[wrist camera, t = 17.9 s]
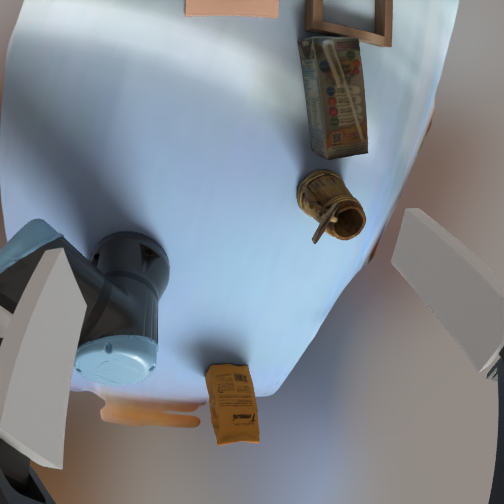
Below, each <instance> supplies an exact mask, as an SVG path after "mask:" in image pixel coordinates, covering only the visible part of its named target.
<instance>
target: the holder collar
mask: <svg viewBox="0 0 504 504" xmlns="http://www.w3.org/2000/svg"><path fill="white" fill-rule="evenodd" d="M392 20H393V0H375V34H374V33H370V32H366V31H363V30H359V29H355V28H351V27H347V26H342V25H338V24H333V23H328V22H323V0H306V14H305V31H311V32H317V33H323V34H328V35H333V36H338V37H352V38H358V39H359V41H361V42H365V43H368V44H372V45H376V46H379V47H391V46H392Z"/></svg>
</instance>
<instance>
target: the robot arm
mask: <svg viewBox="0 0 504 504" xmlns="http://www.w3.org/2000/svg"><path fill="white" fill-rule="evenodd" d="M63 236H64V235H63V234H61V233H58V232H57V231H56V230H55V229H54V228H52V227H51V226H50V225H49V224H48V223H47V222H46V221H44V220H42V219H33V220H31V221H30V222H28V223H27V224H26V225H25V226H24V227H22V228H21V229H20V230H19V231H18V232H17V233H16V234H15V235H14V236H13V237H12V238H11V239H10V240H9V242H8V243H7V244H6V245H5V246H4V247H3V248H2V249H1V251H0V504H56V503H55V502H54V500H53V499H52V497H51V496H50V494H49V493H48V491H47V490H46V489H45V487H44V485H43V484H42V482H41V480H40V479H39V477H38V475H37V474H36V472H35V471H34V470H33V468H32V467H31V466H29V465H30V459H31V460H33V461H35V462H36V463H38V464H39V465H41V466H46V467H51V468H58V469H63V449H64V435H65V423H66V414H67V405H68V398H69V391H70V385H71V378H72V372H73V367H75V368H76V370H77V371H78V373H79V374H81V375H82V376H83V377H85V378H87V379H89V380H91V381H93V382H96V383H100V384H104V385H112V386H124V385H131V384H135V383H138V382H141V381H143V380H145V379H146V378H148V377H149V376H150V375H151V374H152V373H153V371H154V369H155V367H156V359H157V352H158V302H159V300H160V298H161V296H162V294H163V292H164V291H165V289H166V287H167V284H168V281H169V271H170V266H169V261H168V258H167V255H166V253H165V252H164V250H163V249H162V248H161V247H160V246H159V245H158V244H157V243H156V242H155V241H154V240H152V239H150V238H149V237H147V236H144V235H142V234H138V233H134V232H119V233H115V234H112V235H109V236H107V237H105V238H104V239H103V240H101V241H100V242H99V243H98V245H97V246H96V248H95V250H94V252H93V254H92V257H91V260H90V261H89V260H88V259H87V258H85V257H84V256H83V255H82V254H81V253H80V252H79V251H78V250H77V249H76V248H75V247H74V246H72V245H71V244H70V243H69V242H68V241H67V240H66V239H65V238H64V237H63ZM391 264H392V265H393V266H394V267H395V268H396V269H397V270H398V271H399V273H400V274H401V275H402V276H403V277H404V278H405V279H406V280H407V281H408V283H409V284H410V285H411V286H412V287H413V289H415V291H416V292H417V293H418V295H419V296H420V297H421V298H422V299H423V300H424V302H425V303H426V304H427V305H428V307H429V308H430V309H431V310H432V311H433V313H434V314H435V315H436V316H437V318H438V319H439V320H440V321H441V323H442V324H443V325H444V326H445V328H446V329H447V330H448V332H449V333H450V334H451V336H452V337H453V338H454V340H455V341H456V342H457V343H458V345H459V346H460V348H461V349H462V350H463V352H464V353H465V354H466V356H467V357H468V359H469V360H470V361H471V363H472V364H473V366H474V367H475V369H476V370H477V371H478V372H480V371H482V370H483V369H484V368H486V367H487V366H489V365H490V364H491V362H492V361H493V360H494V358H495V357H496V356H497V355H498V354H499V355H500V356H501V358H500V359H499V360H498V361H497V363H496V364H495V365H494V366H493V367H492V369H491V370H490V371H489V372H488V374H487V379H489V378H490V377H491V376H492V375H493V374H494V373H495V372H497V373H496V374H495V375H494V376H493V377H492V380H494V381H498V393H499V394H498V395H499V418H498V419H499V420H498V440H497V452H496V462H495V470H494V477H493V483H492V489H491V494H490V499H489V504H504V283H503V281H501V279H500V278H498V276H497V275H495V273H493V272H492V271H491V270H490V269H489V268H488V267H487V266H486V265H485V264H484V263H483V262H482V261H481V260H480V259H479V258H478V257H476V256H475V255H474V254H473V253H472V252H471V251H470V250H469V249H468V248H467V247H465V246H464V245H463V244H462V243H461V242H460V241H458V240H457V239H456V238H455V237H454V236H453V235H451V234H450V233H449V232H448V231H447V230H445V229H444V228H443V227H442V226H441V225H439V224H438V223H437V222H436V221H434V220H433V219H432V218H431V217H429V216H428V215H427V214H425V213H424V212H423V211H422V210H420V209H419V208H408V209H405V213H404V217H403V221H402V225H401V229H400V232H399V236H398V239H397V243H396V247H395V250H394V253H393V257H392V260H391Z"/></svg>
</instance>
